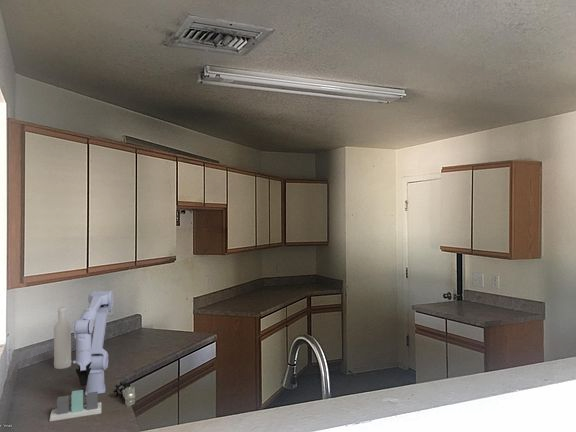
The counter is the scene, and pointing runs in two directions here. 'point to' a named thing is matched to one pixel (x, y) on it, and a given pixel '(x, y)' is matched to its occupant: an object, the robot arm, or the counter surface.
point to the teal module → (77, 400)
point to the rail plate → (66, 411)
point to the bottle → (62, 341)
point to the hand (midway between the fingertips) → (84, 382)
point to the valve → (126, 393)
